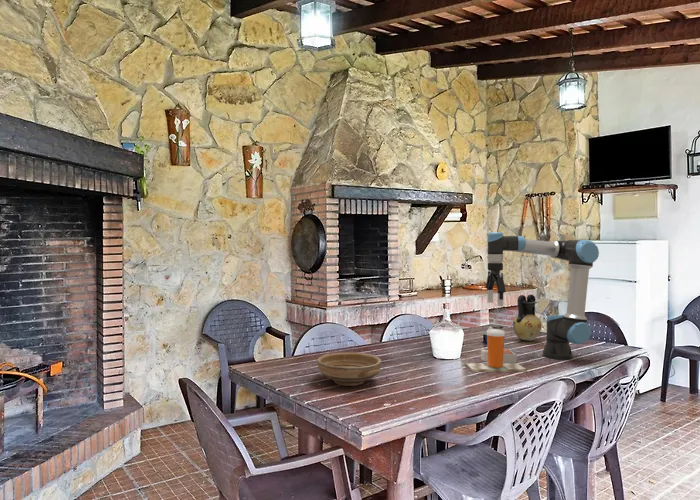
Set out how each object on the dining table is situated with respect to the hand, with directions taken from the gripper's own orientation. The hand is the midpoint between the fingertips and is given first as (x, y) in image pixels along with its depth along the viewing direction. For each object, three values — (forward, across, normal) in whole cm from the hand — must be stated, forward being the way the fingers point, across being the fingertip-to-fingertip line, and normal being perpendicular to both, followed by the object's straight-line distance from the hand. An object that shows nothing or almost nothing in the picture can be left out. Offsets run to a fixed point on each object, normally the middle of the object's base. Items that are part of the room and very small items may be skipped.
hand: (495, 304), depth 254 cm
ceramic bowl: (+30, +24, -77) cm, 86 cm away
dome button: (+31, -10, +9) cm, 34 cm away
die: (+31, -12, 0) cm, 34 cm away
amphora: (+32, -57, +43) cm, 78 cm away
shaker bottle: (+30, +6, -2) cm, 31 cm away
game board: (+31, +6, -2) cm, 32 cm away
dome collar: (+32, -10, +9) cm, 34 cm away
